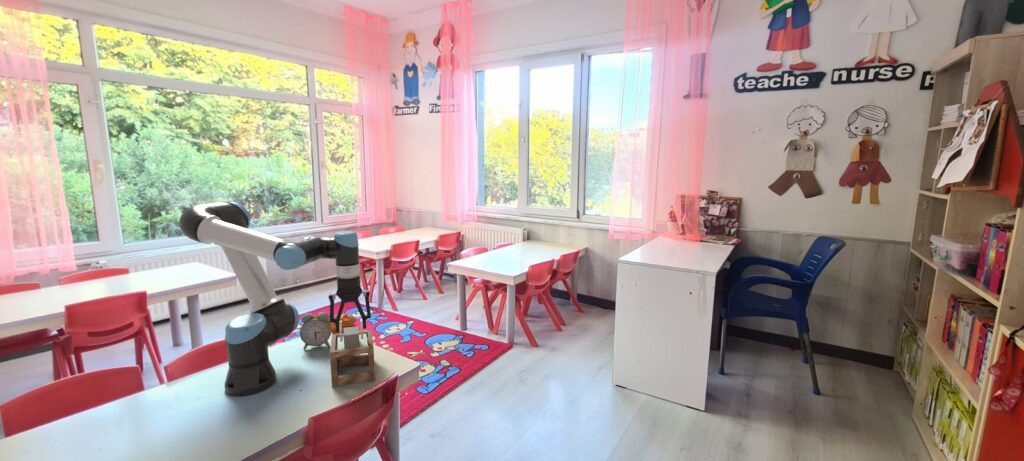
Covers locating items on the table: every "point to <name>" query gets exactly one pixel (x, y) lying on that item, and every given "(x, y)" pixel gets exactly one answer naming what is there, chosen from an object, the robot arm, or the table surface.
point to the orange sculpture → (344, 325)
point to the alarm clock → (315, 329)
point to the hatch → (361, 341)
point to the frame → (352, 361)
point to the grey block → (351, 337)
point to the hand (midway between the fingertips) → (351, 338)
